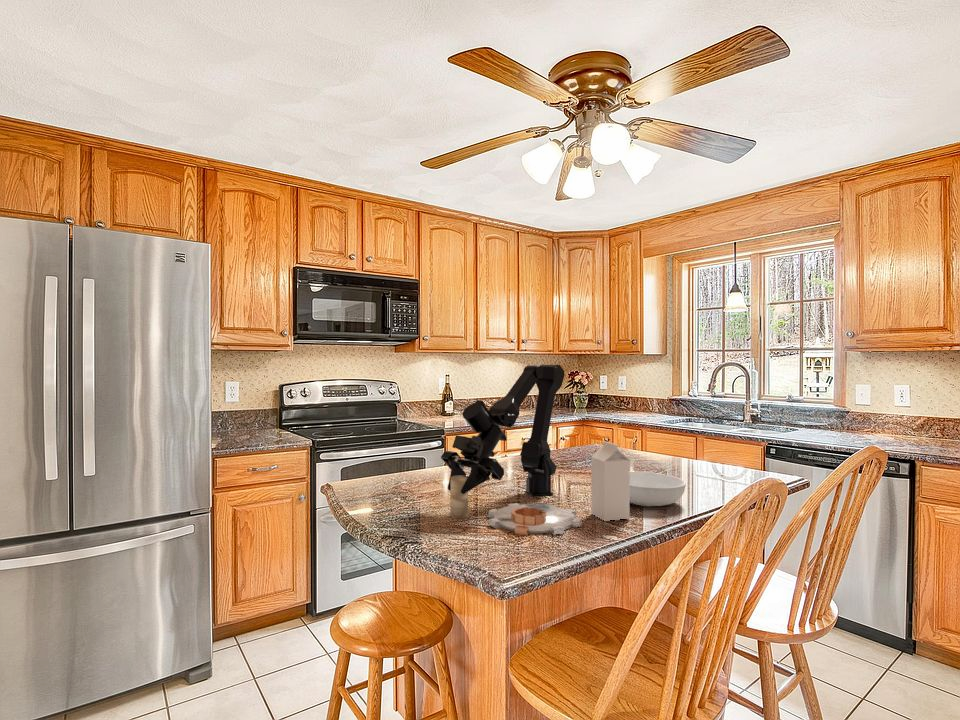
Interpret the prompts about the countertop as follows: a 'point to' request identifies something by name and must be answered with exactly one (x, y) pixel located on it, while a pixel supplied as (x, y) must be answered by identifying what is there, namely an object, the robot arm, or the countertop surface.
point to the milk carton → (610, 483)
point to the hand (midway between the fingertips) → (455, 491)
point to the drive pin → (458, 498)
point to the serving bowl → (655, 489)
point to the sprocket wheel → (534, 518)
